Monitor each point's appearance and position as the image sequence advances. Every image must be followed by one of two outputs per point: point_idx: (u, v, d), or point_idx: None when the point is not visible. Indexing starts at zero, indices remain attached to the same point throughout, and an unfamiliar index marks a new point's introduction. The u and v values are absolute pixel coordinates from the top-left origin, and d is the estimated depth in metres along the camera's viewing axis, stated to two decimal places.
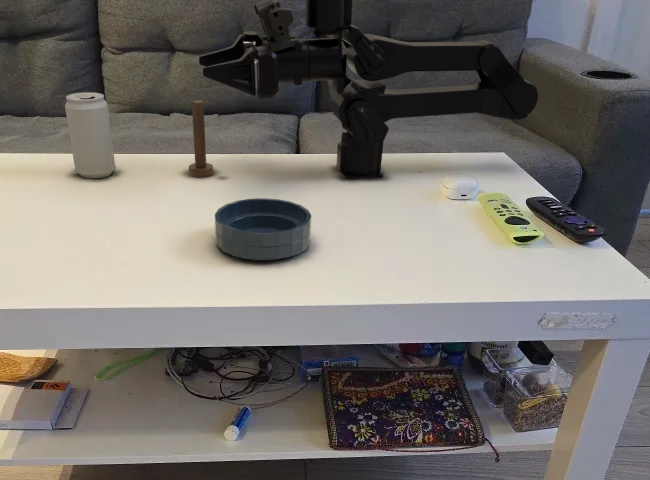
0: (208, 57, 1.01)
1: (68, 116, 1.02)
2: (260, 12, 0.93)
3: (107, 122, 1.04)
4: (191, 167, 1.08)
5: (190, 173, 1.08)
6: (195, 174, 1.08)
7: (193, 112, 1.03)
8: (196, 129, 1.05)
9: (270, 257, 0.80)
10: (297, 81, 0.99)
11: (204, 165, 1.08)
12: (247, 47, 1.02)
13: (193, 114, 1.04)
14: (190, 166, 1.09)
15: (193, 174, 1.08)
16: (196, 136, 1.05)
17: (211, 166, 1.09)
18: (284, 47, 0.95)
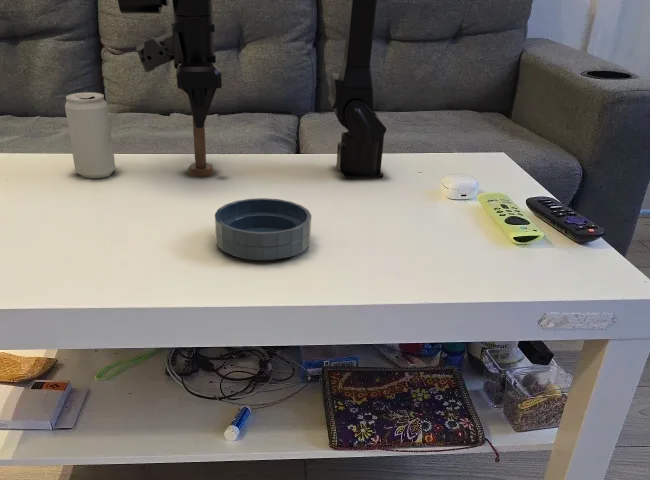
0: None
1: (68, 116, 1.02)
2: (149, 69, 0.97)
3: (107, 122, 1.04)
4: (191, 167, 1.08)
5: (190, 173, 1.08)
6: (195, 174, 1.08)
7: None
8: (196, 129, 1.05)
9: (270, 257, 0.80)
10: (211, 29, 0.96)
11: (204, 165, 1.08)
12: None
13: None
14: (190, 166, 1.09)
15: (193, 174, 1.08)
16: (196, 136, 1.05)
17: (211, 166, 1.09)
18: (179, 45, 0.96)
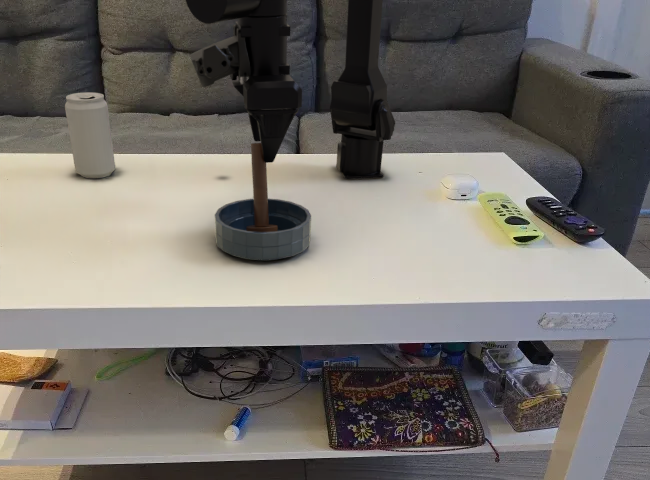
0: (255, 129, 0.88)
1: (68, 116, 1.02)
2: (207, 84, 0.78)
3: (107, 122, 1.04)
4: (250, 227, 0.84)
5: None
6: None
7: (253, 156, 0.82)
8: (257, 177, 0.82)
9: (270, 257, 0.80)
10: (286, 32, 0.76)
11: (266, 224, 0.84)
12: (246, 79, 0.85)
13: (253, 158, 0.82)
14: (248, 226, 0.85)
15: None
16: (257, 186, 0.83)
17: (275, 225, 0.85)
18: (245, 53, 0.76)
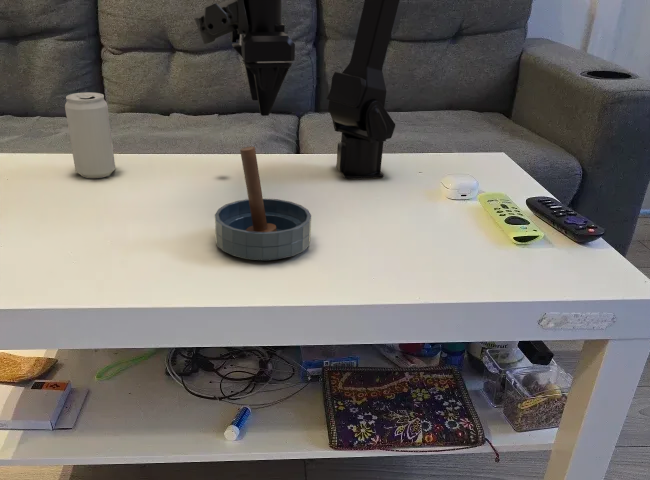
0: (253, 89, 0.95)
1: (68, 116, 1.02)
2: (209, 40, 0.85)
3: (107, 122, 1.04)
4: None
5: None
6: None
7: (243, 162, 0.80)
8: (249, 183, 0.81)
9: (270, 257, 0.80)
10: None
11: (264, 227, 0.84)
12: None
13: (243, 165, 0.80)
14: (247, 230, 0.85)
15: None
16: (250, 192, 0.82)
17: (273, 227, 0.84)
18: (244, 12, 0.83)
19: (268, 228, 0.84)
